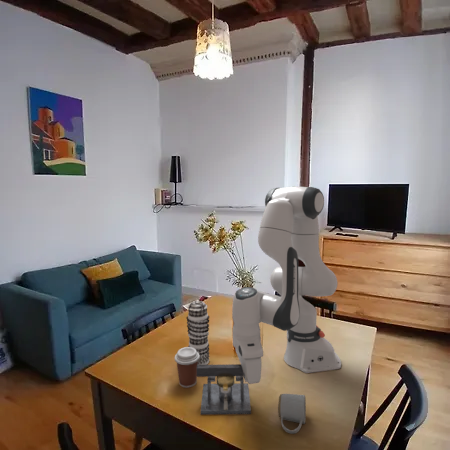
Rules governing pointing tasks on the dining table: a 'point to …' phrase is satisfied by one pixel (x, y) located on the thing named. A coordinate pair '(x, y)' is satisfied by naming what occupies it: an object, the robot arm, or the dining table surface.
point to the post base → (232, 403)
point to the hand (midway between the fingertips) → (246, 379)
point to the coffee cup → (187, 366)
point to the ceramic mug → (292, 410)
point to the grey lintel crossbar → (221, 373)
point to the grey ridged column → (199, 330)
